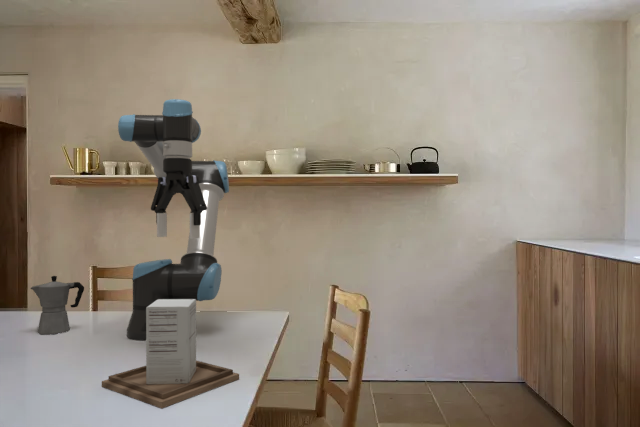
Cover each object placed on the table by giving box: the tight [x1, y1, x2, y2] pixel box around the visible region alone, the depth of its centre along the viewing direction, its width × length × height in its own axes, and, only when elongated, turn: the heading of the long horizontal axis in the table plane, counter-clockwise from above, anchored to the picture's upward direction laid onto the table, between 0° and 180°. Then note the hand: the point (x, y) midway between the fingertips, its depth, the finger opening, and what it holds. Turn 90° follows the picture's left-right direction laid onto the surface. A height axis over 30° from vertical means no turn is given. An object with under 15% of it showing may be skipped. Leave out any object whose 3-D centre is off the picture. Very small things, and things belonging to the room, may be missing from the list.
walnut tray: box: [101, 360, 240, 409], centre depth 110 cm, size 21×21×2 cm
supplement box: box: [145, 299, 197, 384], centre depth 110 cm, size 10×9×17 cm
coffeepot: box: [30, 275, 85, 336], centre depth 160 cm, size 15×9×18 cm, turn 113°
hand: (177, 237), depth 132 cm, fingers open, 13 cm apart
